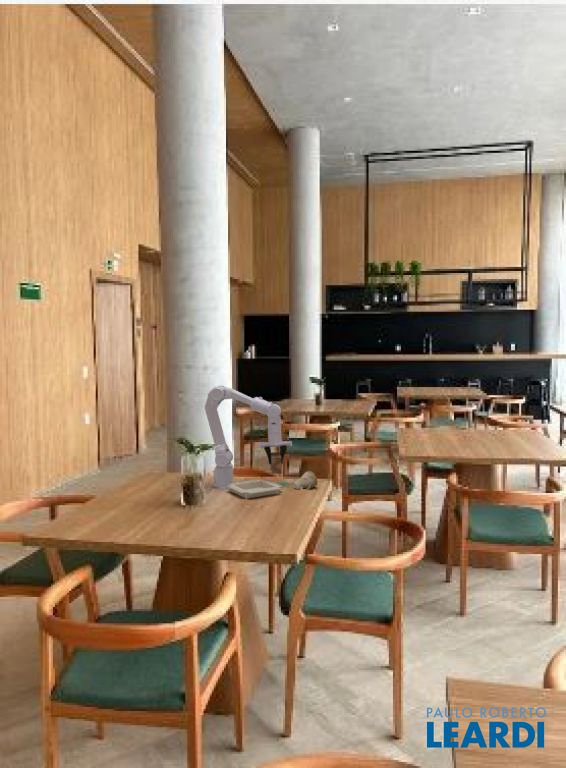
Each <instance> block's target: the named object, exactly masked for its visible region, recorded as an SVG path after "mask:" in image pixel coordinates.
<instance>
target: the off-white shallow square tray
mask: <svg viewBox="0 0 566 768" xmlns="http://www.w3.org/2000/svg"><path fill="white" fill-rule="evenodd" d="M226 487H229V488H228V489H230V492H232V493H234V494H236V495H238V496H240V497H242V498H244V499H247V500H248V499H252V498H258V497H259V498H260V497H263V496H264V497H265V496H271V495H277V494H280V490H282V488H284V486H281V485H279V484H276V482H274V481H271V480H268V479H262V480H261V479H259V478H257V479H249V480H243V481H237V482H233V483H229V485H227V486H226Z"/></svg>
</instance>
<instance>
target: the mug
mask: <svg viewBox="0 0 566 768" xmlns="http://www.w3.org/2000/svg"><path fill="white" fill-rule="evenodd" d="M293 484H294V485H293V486H294V488H295V490H300V491H309V490H310V489H312V488H315V487H317V485H318V479H317V476H316V474H315V473H314V472H313V471H310V470H308V471H306V472H304V473H302V476H301V477H299V478H298V479H296V480H295V481H294V483H293Z"/></svg>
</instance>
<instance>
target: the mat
mask: <svg viewBox="0 0 566 768" xmlns="http://www.w3.org/2000/svg"><path fill="white" fill-rule="evenodd" d="M275 483H276V484H279V485H281V486H283V487H286V486H294V483H291V482H288V481H286V480H284V481H277V482H275Z"/></svg>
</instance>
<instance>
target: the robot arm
mask: <svg viewBox="0 0 566 768" xmlns="http://www.w3.org/2000/svg"><path fill="white" fill-rule="evenodd" d="M206 398H207V399H206V401H205V404H204V411H205V415H206V418H207V422H208V425H209V429H210V434H211V437H212V440H213V444H214V446H215V445H220V447H216V448H215V447H214V454H215V458H214V462H215V467H214V469H213V483H212V484H211V485H212V486H214V487H216V488H217V489H230V488H229V487H226V486H227V485H229V483H234V467H233V464H232V461H233V460H234V455H233V452H232V451H231V450H230V447H229V445H228V443H227V441H226V438H225V433H224V430H223V427H222V423H221V419H220V415H219V411H218V408H219V406H220V405H221V403H222V402H223V401H224V400H225V401H226V400H236V401H238V402H241V403H243V404H247V405H248V406H250V409H251V410H252V411H255V412H258V413H260V414H262V415H266V416H267V439H268V441H267V442H258V444H257V445H258V449H264V452H265V453H266V457H267V459H268V464H269V465H270V464H271V453H272V449H271V448H279V452H280V455H281V465H282V464H283V463H284V457H285V455H286V452H287V450H288V447H293V442H292V441H290V440H289V441H282V422H281V420H282V418H281V414H282V409H281V406H280V405H278V404H277V403H273V402H272V401H267V400H265V399H263V397H262V396H259V397H258V396H255V397H253V398H252V397H251V396H248V395H247V394H244V393H242V392H240V391H238V390H236V389H234V388H231V387H227V386H225V385H217V386H215V387H213V388H211V390H210V391H209V392H208V393H207V397H206Z"/></svg>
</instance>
